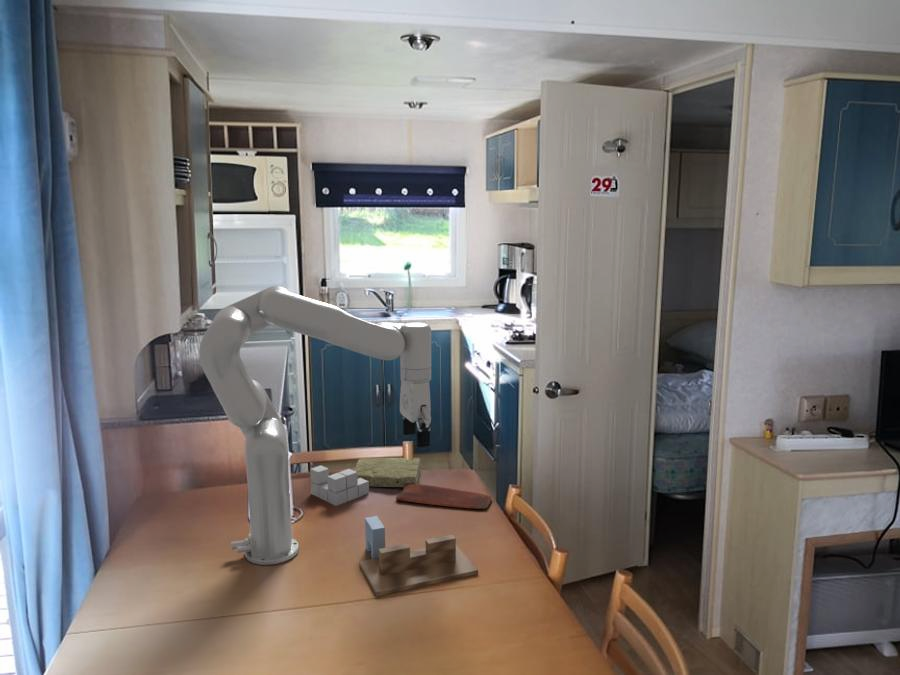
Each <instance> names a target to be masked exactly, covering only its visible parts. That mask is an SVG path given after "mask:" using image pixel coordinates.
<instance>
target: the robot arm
mask: <svg viewBox="0 0 900 675" xmlns="http://www.w3.org/2000/svg"><path fill="white" fill-rule="evenodd" d="M270 326H272V327H275V328H279V329H282V330H285V331H286V330H287V331H290V332H293V333H297V334H299V335H300V334H301V335H304V336H307V337H311V338H314V339H317V340H320V341H323V342H327V343H329V344H331V345H335V346H338V347H340V348H344V349H346V350H348V351H352V352H355V353H357V354H361V355H364V356H368V357H371V358H374V359H379V360H383V361H392V360H396V359H398V358H399V357H400V361H399V362H400V391H399V392H400V393H399V395H400V396H399V413H400V414H401V416H402V419H403V420H402V434H403V435H404V436H409V435H415V434H416V446H417V448H424V447H429V446H430V445H431V436H430V435H431V426H432V424H431V422H432V416H431V410H432V408H431V406H432V405H431V389H430V381H431V380H432V329H431V326H430V325H429V324H427V323H424V322H406V323H396V322H395V323H394V322H386V321H385V322H382V321H381V322H377V323H373V322H370V321H366V320H363V319H362V318H359V317H356V316H354V315H352V314H350V313H348V312H347V311H345V310H343V309H341V308H339V307H338V306H336V305H333V304H331V303H327V302H325V301H324V302H323V301H320V300H316V299H313V298H310V297H306V296H303V295H300V294H297V293H294V292H291V291H290V290H288V288H286V287H283V286H279V285H273V286H269V287H267V288H264V289H262V290H261V291H258V292H256V293H254V294H252V295H249V296H248V297H245V298H242V299H241V300H238V301H236V302H234V303H231V304H229V305H227V306H225V307H223V308H222V309H220V310H219V311H218V312H217V313H216V314H215V316H214V318H213V320H212V321H211V323H210V325H209V326H208V328H207V329H206V331H205V333H204V334H203V336H202V338H201V340H200V344H199V347H198V348H199V349H198V356H199V357H198V358H199V361H200V363H199V364H200V365H201V368H202V370H203V372H204V374H205V377H206V378H207V380H208V382H209V384H210V386H211V388H212V391H213V392H214V394H215V395H216V398H217V400H218V401H219V403H220V405H221V407H222V409H223V411H224V413H225V416H226V418H227V419H228V421H229V422H231V424H233V425H234V426H236V427H238V428H239V429H240V430H241V433H242V434H243V436H244V437H245V445H244V457H245V468H246V469H245V470H246V479H247V480H246V482H247V495H248V506H249V507H248V510H249V525H250V526H249V527H250V532H249V533H248V537H247V538H246V537H245V538H244V540H243V539H242V540H235V541H231V542H230V546H231V551H235V550H237V553H238V554H241V553H243V552H244V554H245V556H244V557H245V558H246V560H247V561H248V562H251V563H252V564H255V565H261V566H262V565H263V566H271V565H277V564H280V563H284V562H286V561H289V560H291V559H292V558H294V557H295V556H296V555H297V554H298V552H299V551H300V550H299V549H300V544H299V542H298V541H297V540H296V539H295V538H294V537H293V535H292V534H293V533H292V515H291V495H290V494H291V492H290V477H289V475H290V474H289V447H288V446H289V443H288V439H287V432H286V431H287V430H286V428H285V426H284V424H283V422H282V419H281V418H280V415H279V414H278V411H277V410H276V408H275V406H274V404H273V402H272V400H271V399H270V397H269V395H268V393H267V391H266V389H265V388H264V387H263V385H262V384H261V383H259V382H258V381H256V380H254V379H252V377H251V376H250V373H249V371H248V370H247V368H246V366H245V363H244V362H243V361H242V359H241V354H240V352H241V348H242V347H243V346H244V345H245V344H246V343H247V341H248V339H249V338H250V336H251V335H252V334H255V333H258V332H259V331H261V330H263V329H265V328H268V327H270ZM421 423H422V424H421ZM416 426H417V427H416Z"/></svg>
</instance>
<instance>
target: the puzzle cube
mask: <svg viewBox="0 0 900 675" xmlns="http://www.w3.org/2000/svg"><path fill="white" fill-rule="evenodd" d="M354 470H355V469H354ZM354 470H353V469H351V468H347V469H344V470H341V471H339V472H336V473H333V474H331V475H330V469H329V468H328V467H325V466H324V465H318V466H315V467H312V468H310V470H309V471H310V474H309V475H310V493H311V495H312V496H315V497H316V498H319V499H321V500H323V501H324V502H327V503H329V504H331V505H332V506H335V507H337V506H340V505H342V504H345V503H348V502H350V501H353V500H356V499H358V498H361V497H364V496H365V495H369V493H370V486H369V481H367V480H364V479H362V478H359V479H358V476H357V472H356V471H354Z"/></svg>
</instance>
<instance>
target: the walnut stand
mask: <svg viewBox="0 0 900 675" xmlns="http://www.w3.org/2000/svg"><path fill="white" fill-rule="evenodd" d="M359 568H361V571H362V572H363V574H364V576H365V578H366V580H367V582H368V583H369V585H370V587H371V589H372V591H373V593H374V595H375V596H376V597H380V596H385V595H389V594H394V593H398V592H403V591H407V590H411V589H417V588H421V587H426V586H431V585H434V584H435V585H436V584H439V583H444V582H449V581H453V580H457V579H462V578H466V577H471V576H475V575H478V574H479V569H478V568H477V567H476V565H475V564H474V563H473V562H472V561H471V560H470V559H469V557H468V556H467V555H466V554H465V552H463V550H461V548H460V547H459V546H458V545H457V539H456V537H455V536H454V535H453V534H449V535H443V536H439V537H438V536H437V537H433V538H428V539H425V548H420V549H415V550H411V546H410V545H409V544H408V543H402V544H398V545H397V544H396V545H392V546H387V547H386V546H385V548H381V549H379V558H374V559H372V558H369V559H365V560H364V559H363V560H361V561H359Z"/></svg>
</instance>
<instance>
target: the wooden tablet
mask: <svg viewBox="0 0 900 675" xmlns="http://www.w3.org/2000/svg"><path fill="white" fill-rule="evenodd" d="M395 499H396V500H398V501H403V502H410V503H417V504H426V505H435V506H443V507H452V508H465V509H479V510H480V509H487V508H488V507H489V505H490V504H491V501H492V496H491V495H487V494H484V493H480V492H474V491H466V490H462V489H461V490H460V489H457V488H456V489H455V488H450V487H443V486H437V485H429V484H421V483H417V484H410V483H409V484H406V485H405V486H404V487H403V490H402V491H401V492H399V493H398V494H397V495H395Z"/></svg>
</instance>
